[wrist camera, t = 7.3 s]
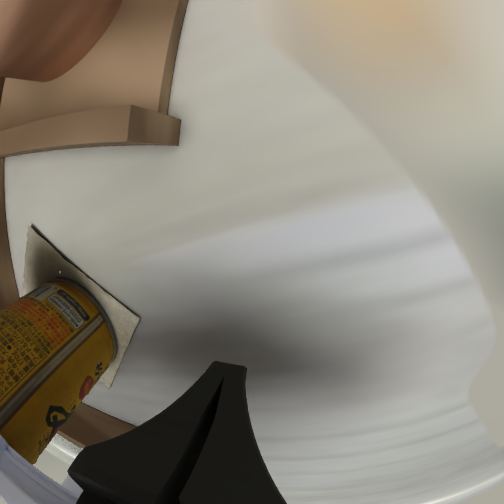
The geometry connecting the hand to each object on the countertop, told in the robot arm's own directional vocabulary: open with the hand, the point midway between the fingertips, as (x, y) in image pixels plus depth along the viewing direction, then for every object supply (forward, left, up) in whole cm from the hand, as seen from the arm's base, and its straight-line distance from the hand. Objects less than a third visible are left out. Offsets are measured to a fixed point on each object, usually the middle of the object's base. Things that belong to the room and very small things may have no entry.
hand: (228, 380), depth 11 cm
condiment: (0, +10, -2) cm, 10 cm away
